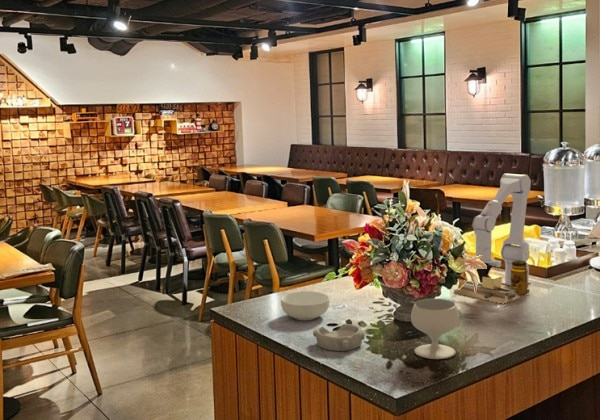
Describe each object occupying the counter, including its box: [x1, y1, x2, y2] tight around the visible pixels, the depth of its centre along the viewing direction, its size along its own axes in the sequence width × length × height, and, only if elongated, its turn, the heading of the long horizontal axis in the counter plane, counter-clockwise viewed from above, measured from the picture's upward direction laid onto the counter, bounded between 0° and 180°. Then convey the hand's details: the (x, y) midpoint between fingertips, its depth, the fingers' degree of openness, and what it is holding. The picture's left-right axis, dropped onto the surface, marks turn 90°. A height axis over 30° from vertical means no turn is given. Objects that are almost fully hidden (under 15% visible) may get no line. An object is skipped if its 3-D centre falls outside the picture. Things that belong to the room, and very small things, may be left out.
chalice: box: [410, 298, 460, 360], centre depth 208 cm, size 14×14×15 cm
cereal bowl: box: [280, 290, 330, 321], centre depth 247 cm, size 17×17×7 cm
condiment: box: [510, 261, 531, 296], centre depth 270 cm, size 7×8×12 cm
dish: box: [312, 323, 366, 352], centre depth 218 cm, size 14×14×5 cm
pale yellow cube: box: [482, 273, 503, 291], centre depth 264 cm, size 5×5×5 cm
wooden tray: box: [453, 279, 520, 305], centre depth 267 cm, size 12×22×4 cm, turn 40°
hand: (483, 282), depth 267 cm, fingers closed
